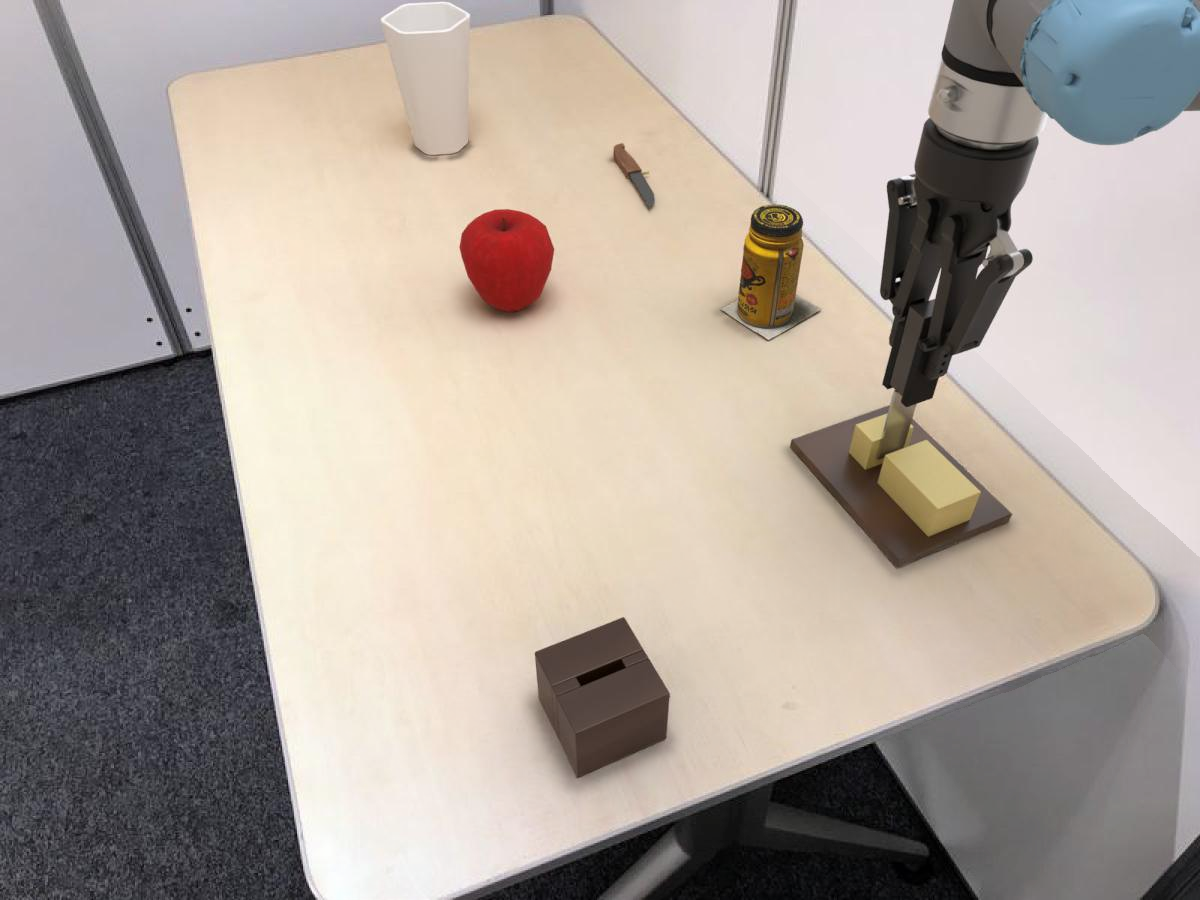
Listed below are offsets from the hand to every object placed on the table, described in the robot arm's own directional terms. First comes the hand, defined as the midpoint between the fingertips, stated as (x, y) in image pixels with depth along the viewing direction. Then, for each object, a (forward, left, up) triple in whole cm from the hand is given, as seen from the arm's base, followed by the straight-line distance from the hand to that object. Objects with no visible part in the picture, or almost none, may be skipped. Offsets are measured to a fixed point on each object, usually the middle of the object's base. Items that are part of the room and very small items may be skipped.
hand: (907, 390), depth 81 cm
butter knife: (0, 0, -7) cm, 7 cm away
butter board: (-2, 0, -10) cm, 10 cm away
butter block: (-5, 0, -9) cm, 10 cm away
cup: (+78, +16, -10) cm, 81 cm away
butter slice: (+1, 0, -9) cm, 9 cm away
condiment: (+25, -4, -10) cm, 27 cm away
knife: (+57, -4, -10) cm, 58 cm away
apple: (+39, +21, -10) cm, 46 cm away
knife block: (-12, +34, -10) cm, 37 cm away
